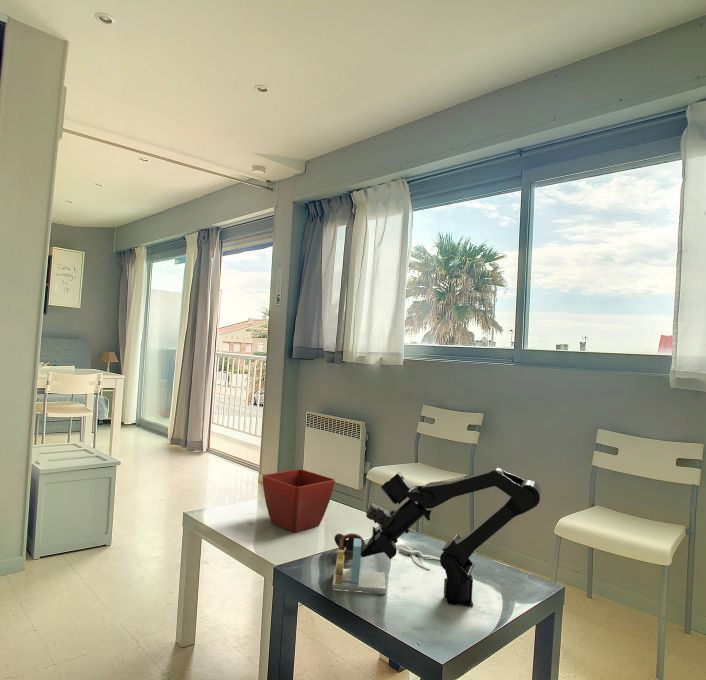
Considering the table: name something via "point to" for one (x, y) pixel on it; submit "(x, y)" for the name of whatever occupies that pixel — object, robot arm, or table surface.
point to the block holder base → (367, 579)
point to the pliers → (415, 552)
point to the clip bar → (354, 564)
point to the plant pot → (297, 498)
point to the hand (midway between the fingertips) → (361, 555)
